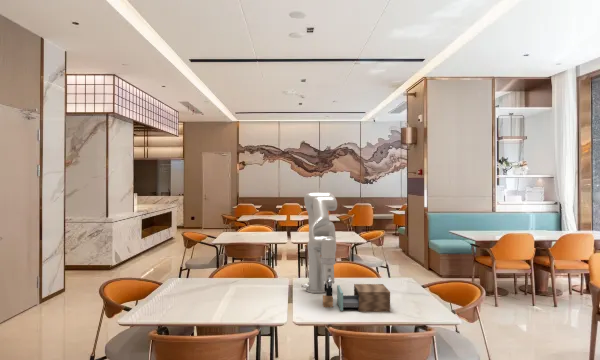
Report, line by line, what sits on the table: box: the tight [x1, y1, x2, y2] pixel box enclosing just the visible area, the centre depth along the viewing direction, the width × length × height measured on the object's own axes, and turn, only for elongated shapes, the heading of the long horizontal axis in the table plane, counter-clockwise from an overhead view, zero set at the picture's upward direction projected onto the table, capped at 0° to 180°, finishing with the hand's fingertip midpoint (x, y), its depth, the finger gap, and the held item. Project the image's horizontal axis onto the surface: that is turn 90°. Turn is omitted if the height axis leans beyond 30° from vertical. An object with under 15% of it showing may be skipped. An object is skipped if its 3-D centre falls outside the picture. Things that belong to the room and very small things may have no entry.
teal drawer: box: [336, 284, 359, 312], centre depth 215 cm, size 16×16×9 cm
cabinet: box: [353, 283, 391, 313], centre depth 216 cm, size 16×16×10 cm
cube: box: [322, 294, 334, 308], centre depth 217 cm, size 5×5×5 cm
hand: (328, 293), depth 216 cm, fingers open, 9 cm apart
